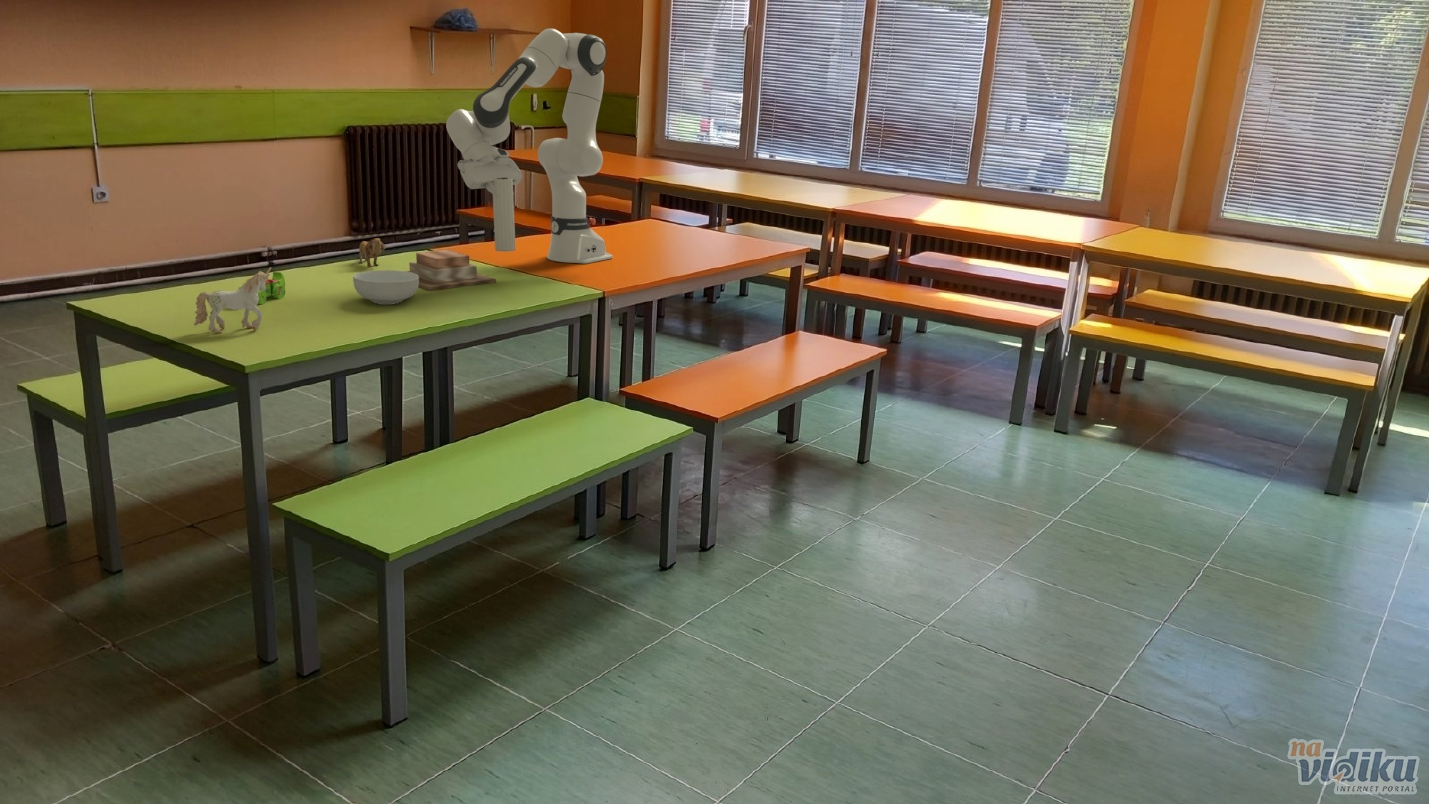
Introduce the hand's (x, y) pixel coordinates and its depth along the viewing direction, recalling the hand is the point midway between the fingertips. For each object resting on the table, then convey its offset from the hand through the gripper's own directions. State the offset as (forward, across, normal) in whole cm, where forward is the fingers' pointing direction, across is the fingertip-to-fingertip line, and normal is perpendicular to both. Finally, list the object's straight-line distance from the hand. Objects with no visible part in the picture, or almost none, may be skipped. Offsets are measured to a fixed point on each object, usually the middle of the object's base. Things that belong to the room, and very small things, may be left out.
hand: (505, 196), depth 310 cm
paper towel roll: (+12, 0, +12) cm, 16 cm away
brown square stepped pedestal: (+9, -15, +25) cm, 31 cm away
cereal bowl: (+17, -44, +18) cm, 50 cm away
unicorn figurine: (+16, -86, +18) cm, 90 cm away
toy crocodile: (+2, -67, +33) cm, 75 cm away
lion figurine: (-12, -17, +47) cm, 51 cm away
